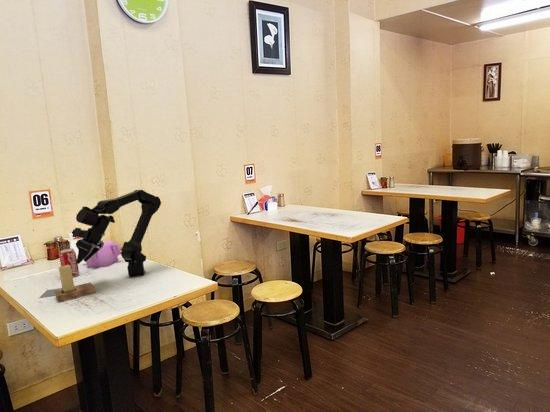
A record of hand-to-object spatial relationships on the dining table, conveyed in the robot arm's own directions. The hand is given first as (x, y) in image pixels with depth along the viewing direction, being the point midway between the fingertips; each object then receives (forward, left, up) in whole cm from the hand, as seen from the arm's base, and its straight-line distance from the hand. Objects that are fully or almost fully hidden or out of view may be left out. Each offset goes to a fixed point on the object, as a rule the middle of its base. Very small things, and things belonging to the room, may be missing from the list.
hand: (81, 262), depth 175 cm
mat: (+13, -2, -12) cm, 18 cm away
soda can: (+13, -25, -13) cm, 31 cm away
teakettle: (+2, -43, -13) cm, 45 cm away
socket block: (+3, +6, -12) cm, 14 cm away
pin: (+5, +7, -12) cm, 15 cm away
